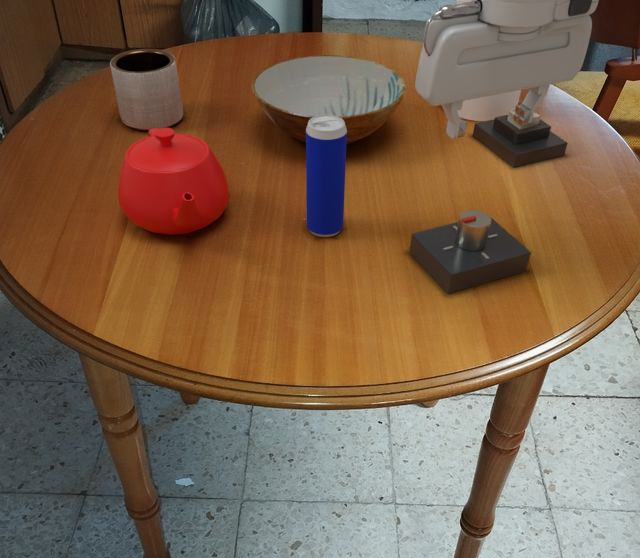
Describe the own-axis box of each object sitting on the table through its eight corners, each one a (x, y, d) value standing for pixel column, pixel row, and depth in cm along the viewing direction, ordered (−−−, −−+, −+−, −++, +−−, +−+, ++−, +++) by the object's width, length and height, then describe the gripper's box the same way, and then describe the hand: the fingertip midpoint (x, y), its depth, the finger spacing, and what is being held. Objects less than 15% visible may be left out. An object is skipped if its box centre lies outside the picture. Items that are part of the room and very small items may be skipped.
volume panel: (483, 233, 95) (487, 212, 93) (525, 271, 89) (531, 251, 87) (409, 252, 92) (411, 232, 89) (447, 294, 86) (451, 273, 83)
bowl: (358, 92, 127) (361, 45, 121) (429, 149, 112) (436, 99, 106) (233, 116, 119) (228, 68, 113) (290, 181, 104) (289, 129, 98)
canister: (527, 118, 120) (558, -11, 105) (454, 123, 118) (474, -8, 103) (502, 87, 128) (527, -36, 114) (433, 91, 127) (449, -33, 112)
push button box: (520, 125, 118) (526, 102, 115) (564, 155, 111) (571, 131, 108) (472, 136, 115) (476, 112, 112) (513, 167, 108) (519, 143, 105)
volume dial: (475, 231, 90) (480, 205, 87) (492, 246, 87) (498, 220, 85) (449, 237, 89) (453, 211, 86) (465, 253, 86) (471, 227, 83)
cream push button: (524, 117, 112) (527, 107, 110) (538, 126, 110) (540, 116, 108) (506, 121, 111) (509, 110, 109) (519, 130, 109) (522, 119, 107)
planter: (140, 138, 113) (128, 79, 106) (110, 116, 119) (97, 58, 112) (195, 121, 118) (188, 62, 111) (164, 100, 124) (155, 43, 116)
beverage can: (338, 217, 98) (341, 112, 86) (346, 236, 94) (351, 129, 83) (303, 221, 97) (302, 115, 86) (310, 240, 93) (310, 133, 82)
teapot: (110, 185, 103) (91, 104, 94) (210, 168, 107) (200, 88, 98) (141, 278, 87) (121, 191, 78) (256, 254, 91) (250, 168, 82)
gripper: (445, 17, 65) (426, 156, 75) (613, -7, 70) (574, 125, 81) (412, -2, 69) (398, 133, 79) (574, -24, 74) (542, 104, 85)
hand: (489, 129), depth 80 cm, fingers open, 8 cm apart
